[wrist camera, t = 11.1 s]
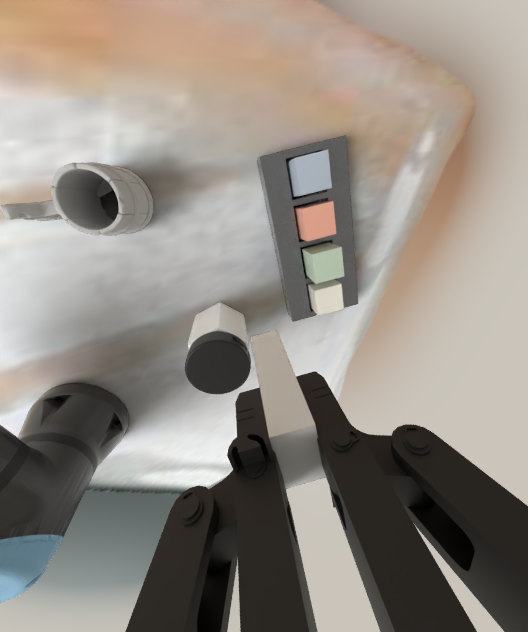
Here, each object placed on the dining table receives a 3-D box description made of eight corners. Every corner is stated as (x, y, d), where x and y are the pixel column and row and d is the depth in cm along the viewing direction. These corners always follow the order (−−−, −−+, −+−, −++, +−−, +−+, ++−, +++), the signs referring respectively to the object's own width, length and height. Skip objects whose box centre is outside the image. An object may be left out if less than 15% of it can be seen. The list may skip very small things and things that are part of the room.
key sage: (306, 275, 38) (316, 283, 34) (302, 249, 36) (311, 254, 32) (331, 268, 38) (344, 276, 34) (328, 242, 36) (341, 246, 32)
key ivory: (309, 304, 41) (318, 315, 37) (305, 282, 40) (314, 291, 36) (332, 298, 41) (343, 308, 37) (329, 275, 40) (341, 283, 36)
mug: (164, 226, 35) (136, 236, 24) (77, 242, 34) (8, 260, 23) (144, 163, 32) (101, 141, 21) (47, 179, 31) (-49, 165, 20)
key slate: (291, 196, 34) (300, 195, 30) (286, 163, 33) (294, 157, 29) (319, 189, 34) (331, 187, 30) (315, 156, 33) (328, 149, 29)
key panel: (288, 314, 43) (292, 321, 40) (256, 160, 33) (259, 156, 30) (349, 297, 43) (358, 303, 40) (336, 140, 33) (346, 135, 31)
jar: (244, 349, 44) (250, 395, 34) (196, 350, 43) (187, 399, 32) (245, 301, 41) (252, 336, 30) (194, 301, 40) (182, 338, 29)
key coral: (298, 237, 37) (307, 241, 33) (293, 208, 35) (302, 208, 31) (324, 230, 37) (336, 233, 33) (320, 201, 35) (333, 201, 31)
